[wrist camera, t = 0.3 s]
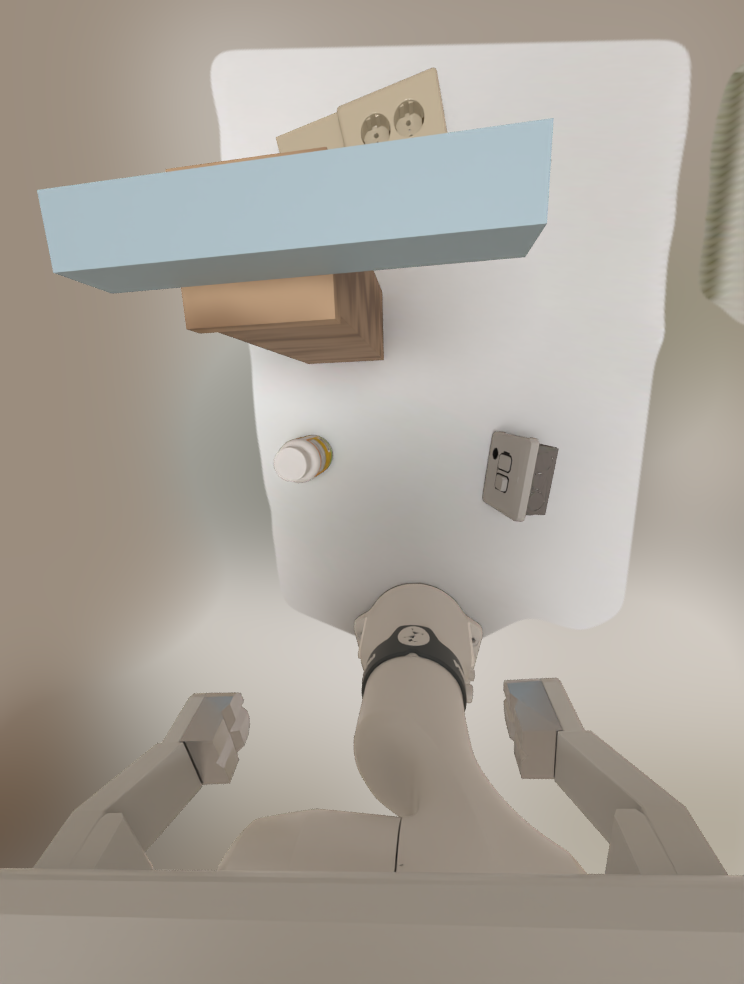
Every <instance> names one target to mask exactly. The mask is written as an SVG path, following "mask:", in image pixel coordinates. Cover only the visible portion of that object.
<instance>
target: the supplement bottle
mask: <svg viewBox="0 0 744 984" xmlns="http://www.w3.org/2000/svg"><path fill="white" fill-rule="evenodd" d="M332 457H333V453H332V449H331V446H330V445H329V443H328V442H327V441H326V440H325V439H324V438H322V437H320V436H317V435H309V436H305V437H301V438H297V439H293V440H290V441H288V442H286V443H285V444H284V445H283V446H282V447H281V448H280V450H279V452H278V453H277V454H276V456H275V458H274V469H275V471H276V473H277V474H278V476H279V477H281V478H282V479H284V480H286V481H291V482H292V481H293V482H296V483H303V482H307V481H309V480H311V479H313V478H314V477H316V476H317V475H319V474H321V473H322V472H324V471H325V470H326V469H327V468H328V467H329V466H330V464H331V462H332Z"/></svg>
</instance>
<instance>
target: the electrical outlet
mask: <svg viewBox="0 0 744 984" xmlns="http://www.w3.org/2000/svg"><path fill="white" fill-rule="evenodd" d="M443 133H447V128H446V122H445V116H444V110H443V104H442V98H441V93H440V87H439V81H438V75H437V70H436V68H430V69H428V70H426V71H423V72H421V73H418V74H416V75H414V76H411V77H409V78H406V79H404V80H402V81H399V82H397V83H394V84H392V85H389V86H387V87H385V88H382V89H380V90H377V91H375V92H373V93H370V94H368V95H365V96H363V97H360V98H358V99H356V100H353V101H351V102H348V103H346V104H344V105H341V106H339V107H338V108H337V113H334V114H331V115H329V116H327V117H324V118H322V119H319V120H317V121H314V122H312V123H310V124H307V125H305V126H302V127H300V128H297V129H295V130H293V131H290V132H288V133H285V134H283V135H280V136H278V137H276V140H277V144H278V148H279V152H280V153H285V152H292V151H299V150H306V149H313V148H320V147H327V149H336V148H343V147H350V146H357V145H364V144H371V143H379V142H386V141H393V140H400V139H407V138H414V137H422V136H429V135H436V134H443Z"/></svg>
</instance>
